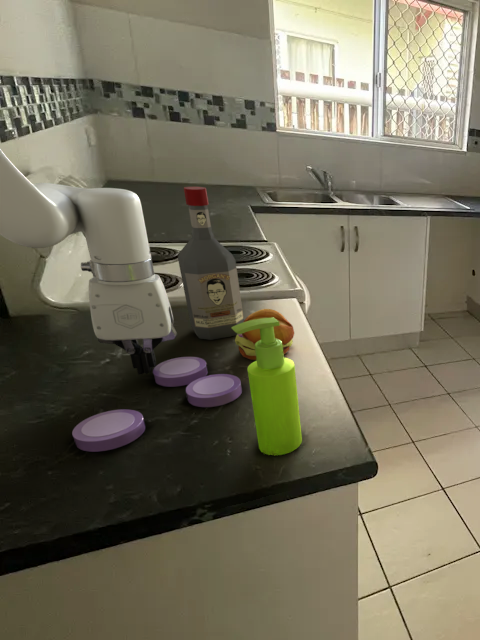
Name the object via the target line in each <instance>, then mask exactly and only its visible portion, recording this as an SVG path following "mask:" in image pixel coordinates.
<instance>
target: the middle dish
mask: <svg viewBox="0 0 480 640" xmlns="http://www.w3.org/2000/svg"><path fill="white" fill-rule="evenodd" d="M242 392H243V388H242V382H241V379H240V378H239V377H238V376H236V375H233V374H229V373H217V374H209V375H206V376H205V377H202V378H199V379H197V380H195V381H193V382H191V383H190V384H188V385H186V387H185V395H186V399H187V402H188V403H189V404H190V405H191V406H194V407H198V408H213V407H219V406H223V405H227V404H229V403H231V402H234V401H235V400H236V399H238V398H239V397H240V396H241V394H242Z"/></svg>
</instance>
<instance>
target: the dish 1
mask: <svg viewBox="0 0 480 640" xmlns="http://www.w3.org/2000/svg"><path fill="white" fill-rule="evenodd" d="M145 431H146V422H145V419H144V415H143V414H142V413H141V412H140V411H138V410H136V409H135V410H134V409H125V408H122V409H121V408H120V409H113V410H108V411H103V412H99V413H97V414H94V415H92V416H89V417H87V418H85V419H84V420H82V421H80V422H79V423H78V424H76V426H74V427H73V429H72V432H71V434H72V438H73V441H74V444H75V446H76V448H78V449H79V450H81V451H82V452H83V451H84V452H89V453H90V452H91V453H97V452H106V451H110V450H115V449H118V448H122V447H124V446H126V445H128V444H130V443H133V442H134V441H136V440H137V439H139V438H140V437H141V436H142V435H143V434H144V433H145Z"/></svg>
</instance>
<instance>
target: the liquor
mask: <svg viewBox="0 0 480 640" xmlns="http://www.w3.org/2000/svg"><path fill="white" fill-rule="evenodd" d="M183 192H184V198H185V204H186V205H187V207H188V213H189V218H190V224H191V233H190V234H191V238H190V239H189V240H188V241H187V242H186V243H185V245H184V246H183V247H182V249H181V250H180V251H179V252H178V256H177V261H178V266H179V271H180V272H179V273H180V276H181V282H182V286H183V287H182V288H183V290H184V291H183V292H184V297H185V302H186V308H187V312H188V318H189V322H190V327H191V329H192V330H193V333H195V335H196V336H197V338H198V339H200V340H208V341H213V340H219V339H224V338H229V337H234V336H235V337H236V336H237V333H236V332H235V331H234V330H233V329H232V328H231V327H233V326H235V325H238V324H240V323H243V322H244V320H245V317H244V312H243V311H244V310H243V303H242V296H241V289H240V283H239V276H238V270H237V261H236V259H235V257H234V255H233V254H232V253H231V251H229V250H228V249H227V248H226V247H225V246H224V245H222V244H221V243H220V242H219V241H218V239H216V238H215V234H214V232H213V230H212V225H211V219H210V213H209V207H208V205H209V197H208V193H207V188H206V187H204V186H184V187H183Z"/></svg>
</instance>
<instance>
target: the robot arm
mask: <svg viewBox="0 0 480 640" xmlns="http://www.w3.org/2000/svg"><path fill="white" fill-rule="evenodd" d="M76 233H83V234H84V237H85V241H86V247H87V249H88V254H89V258H90V260H89V261H87V262H84V261H83V262H80V269H81V271H82V272H89V273H90V274H92V277H91V278H90V279H89V280H88V303H89V311H90V316H91V318H90V319H91V324H92V328H93V329H92V330H93V332H94V335H95V337H96V338H97V341H98V342H99V343H100V344H107V345H108V344H109V345H115V346H117V347H119V348H120V349H123V350H124V351H125V352H126V353H127V355H128V354H129V355H130V359H131V364H132V368H133V369H136V371H137V372H136V373H137V375H138V376H141V375H143V374H145V375H151V373H152V372H153V369H154V367H155V366H157V360H156V359H157V358H156V354H155V349H156V348H157V347H158V346H159V345H160V344H161V343H162V342H168V341H173V340H175V339H176V338H177V335H178V333H177V331H176V329H175V326H174V325H175V324H174V323H175V321H174V314H173V310H172V307H171V303H170V300H169V297H168V294H167V291H166V287H165V285H164V283H163V281H162V279H161V277H160V275H159V274H158V273H155V269H154V265H153V259H152V254H151V253H152V252H151V248H150V243H149V239H148V234H147V233H148V232H147V227H146V222H145V218H144V212H143V207H142V202H141V199H140V197H139V196H138V195H137V193H136V192H134V191H131V190H128V189H124V188H116V187H115V188H114V187H92V188H87V187H79V186H73V185H66V184H59V183H51V182H39V183H32V182H31V181H30V180H29V179H28V178H27V177H26V176H25V175H24V174H23V173H22V172H21V171H20V170H19V169H18V168H17V167H16V166H15V164H14V163H12V161H11V160H10V159H9V158H8V157H7V155H6V154H5V153H4V151H3V150H2V149H1V148H0V236H1V237H3V238H4V239H6V240H8V241H10V242H11V243H13V244H16V245H19V246H22V247H26V248H31V249H44V248H50V247H54V246H56V245H58V244H60V243H61V242H63V241H64V240H66V238H68V237H69V236H71V235H73V234H76ZM138 340H142V346H141V345H140V343H139V341H138Z"/></svg>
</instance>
